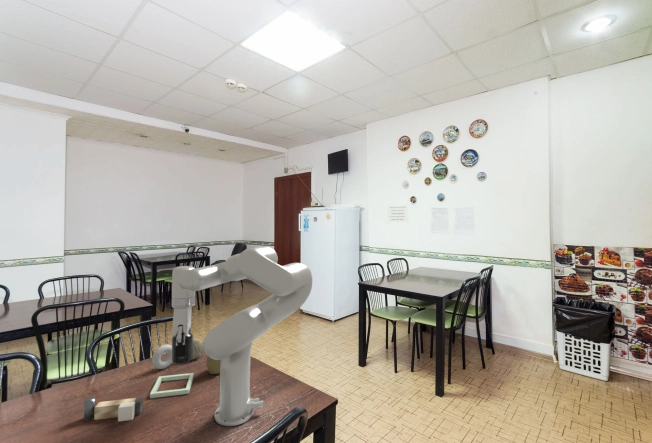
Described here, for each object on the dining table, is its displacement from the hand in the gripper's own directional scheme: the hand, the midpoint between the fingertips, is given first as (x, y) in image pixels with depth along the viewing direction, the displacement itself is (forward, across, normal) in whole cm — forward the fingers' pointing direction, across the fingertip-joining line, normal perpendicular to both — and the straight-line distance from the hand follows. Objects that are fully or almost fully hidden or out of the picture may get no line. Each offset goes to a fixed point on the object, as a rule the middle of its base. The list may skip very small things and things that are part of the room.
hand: (182, 351), depth 110 cm
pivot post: (+18, +3, -27) cm, 32 cm away
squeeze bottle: (+18, -19, +10) cm, 28 cm away
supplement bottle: (+3, 0, 0) cm, 3 cm away
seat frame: (+18, -10, -5) cm, 21 cm away
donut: (+18, -28, -11) cm, 35 cm away
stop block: (+18, +6, -15) cm, 24 cm away
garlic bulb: (+18, -35, -1) cm, 40 cm away
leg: (+18, +3, -18) cm, 26 cm away
